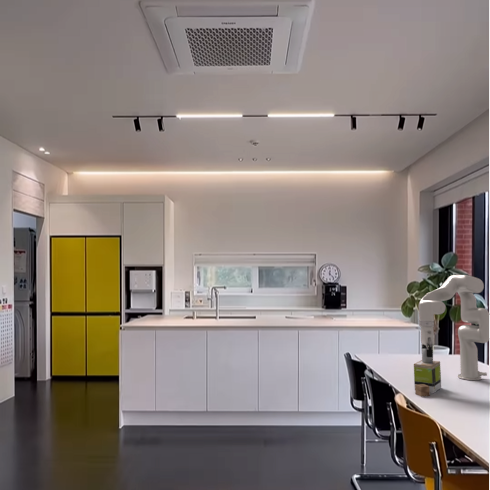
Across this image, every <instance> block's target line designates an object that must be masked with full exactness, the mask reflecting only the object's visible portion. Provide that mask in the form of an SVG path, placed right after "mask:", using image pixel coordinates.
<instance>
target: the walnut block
mask: <svg viewBox="0 0 490 490" xmlns="http://www.w3.org/2000/svg"><path fill="white" fill-rule="evenodd" d="M414 391H415V392H414V393H415V395H416V396H419V397H422V398H423V397H430V396H431V393H430V388H429V386H427V385H425V384H416V385H415V384H414Z"/></svg>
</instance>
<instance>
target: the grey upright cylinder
mask: <svg viewBox="0 0 490 490" xmlns="http://www.w3.org/2000/svg"><path fill="white" fill-rule="evenodd" d="M426 349H427V348H423V349H422V348H421V360H422V362H424V363H433V361H434V356H433V357H427V353H426Z"/></svg>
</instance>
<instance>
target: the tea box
mask: <svg viewBox="0 0 490 490" xmlns="http://www.w3.org/2000/svg"><path fill="white" fill-rule="evenodd" d="M441 373H442V372H441V361H439V360H433V363H424V362H422V359H421V360H419V361H417V362H416V363H414V364H413V378H414V379H413V380H414V386H415V385H416V384H425V385H427V386H429V388H430V394H434V393H436V392H437V391H439V390H440V389H442V374H441Z"/></svg>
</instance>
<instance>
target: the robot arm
mask: <svg viewBox="0 0 490 490" xmlns="http://www.w3.org/2000/svg"><path fill="white" fill-rule="evenodd" d="M484 286H485V285H484V281H482V280H481V279H480V278H478V277H475V276H473V275H468V274H452V275H450V276H448V277H447V279H445V281H444V282H443V283H442V285H440V287H438V288H437V289H434V290H432V291H430V292H427V293H426V294H425V295H424V296H423V297H422V298H421V299H420V301H419V303H418V317H419V319H418V320H419V321H418V322H419V325H418V326H419V327H420V342H421V350H422V349H423V348H427V349H426V353H427V357H433V358H434V348H433V347H434V346H435V334H434V327H435V324H434V323H435V316H434V315H443V313H445V312H446V309H447V307H446V304H445V301H448V300H451V299H452V298H453V297H454V296H455V294H456V293H457V294H458V296H459V299H460V319H461V321H462V322H464V323H468V324H462V325H460V326H459V327H458V329H457V335H458V341H459V357H460V358H459V361H460V374H459V373H458V375H457V377H458V378H459V379H461V380H467V381H481V380H482V376H483V377H488V373H487V372H482V371H479V361H478V359H479V358H478V357H479V356H478V354H479V353H478V346H477V345H476V343H481V344H485V343H488V342H489V340H490V338H489V315H490V313H489V311H488V309H487V308H484V307H477V298H476V296H475V295H474V294H480V293H482V292H483V290H484V288H485V287H484ZM443 301H444V302H443ZM470 324H477V325H470Z"/></svg>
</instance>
